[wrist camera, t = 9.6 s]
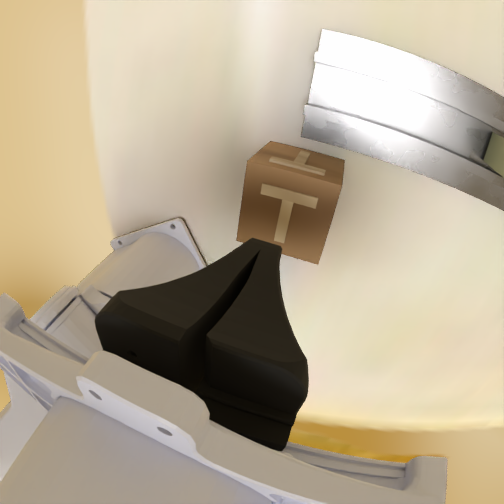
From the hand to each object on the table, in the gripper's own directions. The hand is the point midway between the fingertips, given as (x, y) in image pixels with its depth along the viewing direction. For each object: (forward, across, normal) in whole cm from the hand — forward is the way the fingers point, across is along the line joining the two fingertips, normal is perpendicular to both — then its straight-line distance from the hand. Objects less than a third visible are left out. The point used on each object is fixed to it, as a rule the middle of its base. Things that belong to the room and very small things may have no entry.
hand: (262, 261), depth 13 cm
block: (+10, 0, 0) cm, 10 cm away
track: (+9, -12, -7) cm, 17 cm away
